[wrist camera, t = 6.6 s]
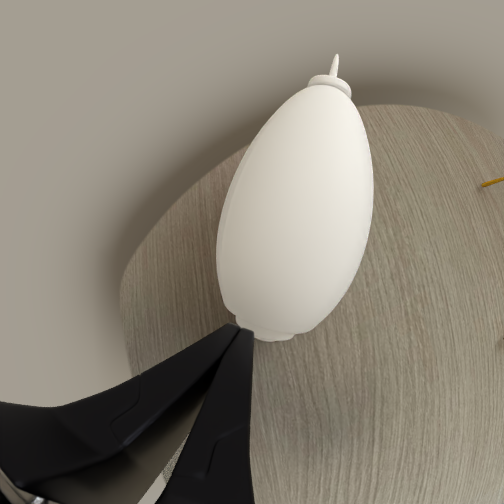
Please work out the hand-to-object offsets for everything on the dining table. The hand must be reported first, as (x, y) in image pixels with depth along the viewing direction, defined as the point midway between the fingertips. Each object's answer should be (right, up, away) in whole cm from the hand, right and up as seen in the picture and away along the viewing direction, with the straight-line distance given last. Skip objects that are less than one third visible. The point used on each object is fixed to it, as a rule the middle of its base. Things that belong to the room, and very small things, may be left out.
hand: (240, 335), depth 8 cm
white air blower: (+1, -2, +7) cm, 8 cm away
